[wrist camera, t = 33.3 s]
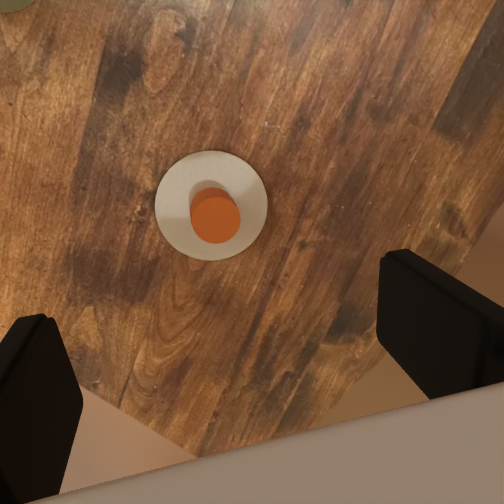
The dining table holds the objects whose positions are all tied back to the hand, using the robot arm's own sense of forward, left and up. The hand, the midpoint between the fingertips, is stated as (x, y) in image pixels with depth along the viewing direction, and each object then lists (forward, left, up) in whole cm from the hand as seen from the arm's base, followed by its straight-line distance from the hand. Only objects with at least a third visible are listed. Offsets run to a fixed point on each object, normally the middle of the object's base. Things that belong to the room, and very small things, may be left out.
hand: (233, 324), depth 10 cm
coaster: (+1, -3, -23) cm, 24 cm away
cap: (+1, -3, -23) cm, 23 cm away
